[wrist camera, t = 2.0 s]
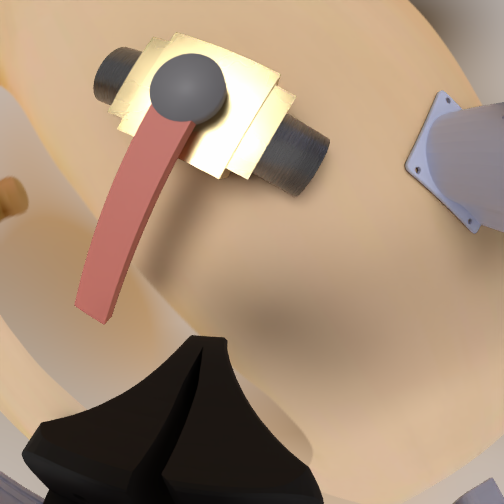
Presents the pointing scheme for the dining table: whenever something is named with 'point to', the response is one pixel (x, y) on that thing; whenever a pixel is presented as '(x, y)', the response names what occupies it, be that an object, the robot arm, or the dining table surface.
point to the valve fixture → (221, 114)
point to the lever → (147, 173)
